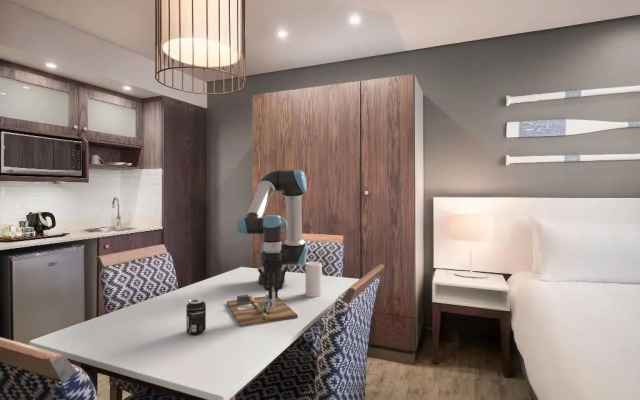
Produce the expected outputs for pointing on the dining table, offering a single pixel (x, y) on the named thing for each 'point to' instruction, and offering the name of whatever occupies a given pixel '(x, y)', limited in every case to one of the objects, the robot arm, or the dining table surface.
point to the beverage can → (196, 316)
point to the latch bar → (266, 304)
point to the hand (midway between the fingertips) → (273, 306)
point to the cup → (313, 279)
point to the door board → (258, 310)
